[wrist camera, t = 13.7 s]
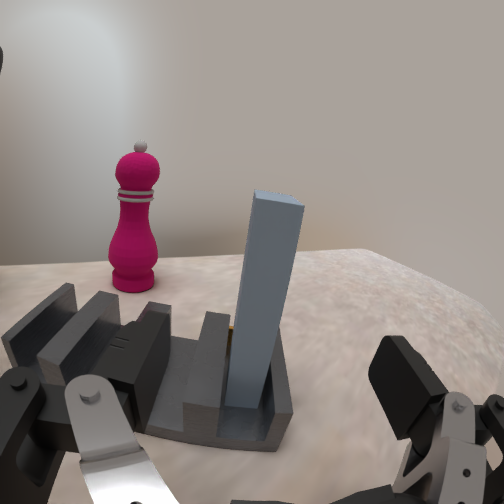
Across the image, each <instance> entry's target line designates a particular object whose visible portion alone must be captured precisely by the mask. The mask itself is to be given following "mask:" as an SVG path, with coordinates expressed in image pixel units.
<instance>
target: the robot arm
mask: <svg viewBox="0 0 504 504" xmlns="http://www.w3.org/2000/svg"><path fill="white" fill-rule="evenodd" d="M2 63H3V51H2V49H1V47H0V72H1V68H2ZM169 357H170V315H169V314H168V313H162V312H157V311H152V310H148V311H147V312H146V314H145V316H144V317H143V319H142V320H141V322H136V321H131V322H130V323H128V324H126V325H125V326H123V327H122V328H121V329H120V331H119V332H118V333H117V335H116V336H115V339H113V341H112V342H111V344H110V346H109V347H108V348H107V350H106V351H105V353H104V354H103V356H102V357H101V359H100V360H99V362H98V363H97V365H96V366H95V368H94V369H93V371H92V372H91V374H90V375H82V376H79V377H76V378H74V379H73V380H71V381H70V382H69V383H68V385H67V386H61V385H52V384H44V383H41V381H40V379H39V377H38V375H37V373H36V372H35V371H33V370H32V369H30V368H28V367H14V368H11V369H9V370H8V371H6V372H5V373H4V374H3V375H2V377H1V378H0V504H47V502H48V499H49V496H50V493H51V490H52V487H53V484H54V481H55V478H56V476H57V473H58V470H59V468H60V465H61V462H62V460H63V457H64V455H65V452H66V451H68V452H76V453H80V455H81V460H80V462H79V463H80V468H81V471H82V474H83V477H84V479H85V482H86V484H87V487H88V489H89V492H90V494H91V496H92V499H93V501H94V503H95V504H179V503H178V502H177V501H176V499H175V498H174V496H173V495H172V493H171V492H170V490H169V489H168V487H167V486H166V484H165V483H164V481H163V480H162V478H161V476H160V475H159V473H158V471H157V470H156V468H155V466H154V465H153V463H152V461H151V460H150V458H149V456H148V455H147V453H146V451H145V450H144V448H143V447H141V446H140V445H139V443H138V441H137V439H136V437H135V435H134V433H133V432H134V431H135V432H138V433H142V434H144V433H145V430H146V427H147V424H148V421H149V418H150V415H151V412H152V409H153V406H154V403H155V400H156V397H157V394H158V391H159V388H160V385H161V383H162V380H163V377H164V374H165V371H166V369H167V366H168V362H169ZM368 377H369V381H370V383H371V385H372V387H373V389H374V391H375V393H376V395H377V397H378V399H379V401H380V403H381V406H382V408H383V410H384V412H385V414H386V416H387V418H388V420H389V423H390V425H391V427H392V429H393V431H394V433H395V436H396V438H397V440H402V439H407V438H410V439H411V441H410V442H409V444H408V445H407V447H406V450H405V454H404V457H403V460H402V463H401V466H400V469H399V472H398V474H397V477H396V480H395V482H394V484H393V486H392V487H391V484H389V485H386V486H382V487H378V488H374V489H369V490H365V491H360V492H357V493H354V494H352V495H350V496H348V497H345V498H343V499H340V500H338V501H335V502H333V503H330V504H504V398H503V397H501V396H499V395H495V394H493V395H490V396H489V397H488V399H487V400H486V401H485V403H484V404H483V405H474V404H473V402H472V401H471V400H470V399H469V398H468V397H467V396H466V395H464V394H462V393H459V392H450V393H449V392H448V390H447V389H446V387H445V386H444V385H443V383H442V382H441V381H440V379H439V378H438V377H437V375H436V374H435V373H434V371H432V369H431V367H430V366H429V365H428V364H427V362H426V361H425V359H424V358H423V357H422V356H421V354H419V353H418V352H417V351H415V350H414V349H413V348H412V346H411V345H410V344H409V342H408V341H407V340H406V339H405V337H403V336H385V337H383V339H382V340H381V342H380V345H379V347H378V349H377V351H376V354H375V356H374V358H373V360H372V362H371V364H370V367H369V371H368ZM492 436H493V437H494V439H495V441H496V443H497V444H498V446H499V448H500V450H501V451H502V454H503V460H502V462H501V464H500V465H499V466H498V467H497V468H496V469H495V470H494V471H493V470H492V469H491V467H490V465H489V463H488V461H487V459H486V453H487V452H486V448H485V446H484V445H485V444H486V443H487V442H488V441H489V440H490V438H491V437H492ZM230 504H292V503H286V502H280V501H245V500H232V501H231V503H230Z"/></svg>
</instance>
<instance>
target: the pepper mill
mask: <svg viewBox="0 0 504 504" xmlns="http://www.w3.org/2000/svg"><path fill="white" fill-rule="evenodd" d="M146 149H147V144H146V143H145V141H141V140H140V141H137V142H136V143H135V145H134V150H135V152H133V153H129V154H127V155H125V156H123V157H122V158H121V159H120V161H119V162H118V164H117V167H116V173H115V176H116V179H117V181H118V182H119V184H120V186H121V188H119V189H118V192H119V193H118V196H117V198H118V200H120V219H119V223H118V226H117V229H116V231H115V233H114V236H113V238H112V241H111V243H110V247H109V256H108V258H109V261H110V263H111V265H112V266H113V267H114V268H115V269H114V270H113V272H112V278H113V285H114V286H115V287H116V288H117V289H119V290H121V291H124V292H133V293H136V292H142V291H146V290H148V289H150V288H151V287H152V286H153V284H154V272H153V270H152V269H151V268H152V267H153V266H154V265H155V264H156V262H157V259H158V251H157V246H156V242H155V239H154V237H153V235H152V232H151V229H150V225H149V220H148V213H149V205H150V201H152V200H153V199H154V198H153V193H154V190H152V189H151V188H152V186H153V185H154V184H155V183H156V182H157V180H158V178H159V174H160V168H159V164H158V161H157V160H156V158H154V157H153V156H152V155H150V154H147V153H144V152H145V151H146Z"/></svg>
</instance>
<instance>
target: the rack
mask: <svg viewBox="0 0 504 504" xmlns="http://www.w3.org/2000/svg"><path fill="white" fill-rule="evenodd" d="M148 310H152V311H157V312H162V313H168V314H169V315H170V357H169V362H168V366H167V369H166V371H165V374H164V377H163V380H162V383H161V385H160V388H159V391H158V394H157V397H156V400H155V403H154V406H153V409H152V412H151V415H150V418H149V421H148V424H147V427H146V430H145V434H149V435H152V436H157V437H161V438H165V439H170V440H175V441H180V442H185V443H191V444H197V445H203V446H210V447H218V448H226V449H236V450H249V451H270V452H276V450H277V448H278V446H279V444H280V442H281V440H282V438H283V435H284V433H285V431H286V429H287V427H288V424H289V422H290V420H291V418H292V415H293V408H292V402H291V396H290V389H289V383H288V377H287V371H286V365H285V359H284V353H283V347H282V341H281V335H280V329H279V328H278V332H277V336H276V341H275V345H274V349H273V352H272V356H271V360H270V364H269V368H268V372H267V376H266V379H265V383H264V387H263V390H262V394H261V398H260V401H259V405H258V408H257V409H255V408H244V407H234V406H225V405H224V403H225V393H226V382H227V372H228V362H229V356H230V349H231V342H232V335H233V328H234V327H233V326H229V323H230V315H228V314H221V313H214V312H208V311H206V315H205V318H204V322H203V326H202V329H201V333H200V337H199V340H192V339H186V338H180V337H175V336H171V305H166V304H161V303H155V302H150V301H149V302H148V304H147V305H146V307H145V308H144V310H143V311H142V313H141V314H140V316H139V317H138V319H137V320H136V322H141V320H142V319H143V317H144V316H145V314H146V312H147V311H148ZM122 327H123V325H121V322H120V311H119V298H118V295H116V294H112V293H107V292H103V291H99V292H98V293H97V294H95V295H94V296H93V297H92V298H91V299H90V300H89V301H88V302H87V303H86V304H85V305H84V306H83V307H82V308H81V309H80V310H79V311H78V310H77V304H76V297H75V289H74V284H70V283H65V284H64V285H62V286H61V287H60V288H59V289H57V290H56V291H55V292H53V293H52V294H51V295H50V296H48V297H47V298H46V299H45V300H43V301H42V302H41V303H40V304H39V305H37V306H36V307H35V308H34V309H33V310H31V311H30V312H29V313H28V314H27V315H25V316H24V317H23V318H22V319H21V320H20V321H18V322H17V323H16V324H15V325H14V326H13V327H12V328H11V329H9V330H8V331H7V332H6V333H5V334H4V335H3V336H2V337H1V339H2V342H3V345H4V347H5V350H6V353H7V355H8V358H9V360H10V362H11V365H12V367H13V368H14V367H28V368H30V369H32V370H33V371H35V372H36V373H37V375H38V377H39V379H40V381H41V383H44V384H52V385H61V386H67V385H68V383H69V382H70V381H71V380H73V379H74V378H76V377H79V376H82V375H90V374H91V372H92V371H93V369H94V368H95V366H96V365H97V363H98V362H99V360H100V359H101V357H102V356H103V354H104V353H105V351H106V350H107V348H108V347H109V346H110V344H111V342H112V341H113V339H115V336H116V335H117V333H118V332H119V331H120V329H121V328H122Z"/></svg>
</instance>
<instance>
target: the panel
mask: <svg viewBox="0 0 504 504" xmlns="http://www.w3.org/2000/svg"><path fill="white" fill-rule="evenodd" d="M303 212H304V205H303V204H301V203H300V202H299V201H297V200H296V199H295V198H293V197H292V196H291V195H285V194H280V193H273V192H267V191H261V190H254V196H253V203H252V209H251V216H250V223H249V229H248V235H247V243H246V249H245V255H244V261H243V268H242V274H241V281H240V288H239V294H238V301H237V308H236V315H235V321H234V328H233V335H232V342H231V349H230V356H229V362H228V372H227V382H226V393H225V403H224V405H225V406H234V407H244V408H255V409H257V408H258V405H259V401H260V398H261V394H262V390H263V387H264V383H265V379H266V376H267V372H268V368H269V364H270V360H271V356H272V352H273V349H274V345H275V341H276V336H277V332H278V328H279V324H280V320H281V316H282V312H283V307H284V303H285V299H286V294H287V290H288V285H289V281H290V276H291V272H292V267H293V262H294V258H295V253H296V247H297V243H298V238H299V233H300V228H301V223H302V218H303Z"/></svg>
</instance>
